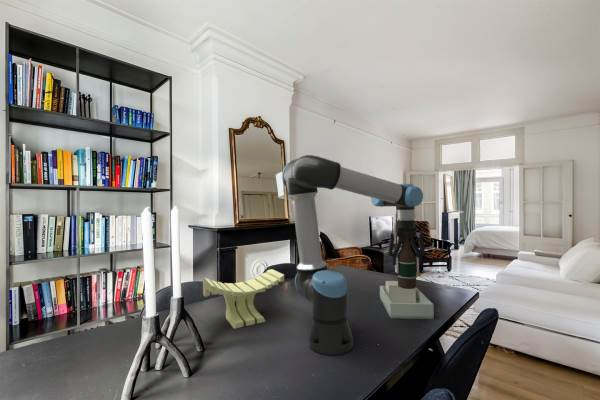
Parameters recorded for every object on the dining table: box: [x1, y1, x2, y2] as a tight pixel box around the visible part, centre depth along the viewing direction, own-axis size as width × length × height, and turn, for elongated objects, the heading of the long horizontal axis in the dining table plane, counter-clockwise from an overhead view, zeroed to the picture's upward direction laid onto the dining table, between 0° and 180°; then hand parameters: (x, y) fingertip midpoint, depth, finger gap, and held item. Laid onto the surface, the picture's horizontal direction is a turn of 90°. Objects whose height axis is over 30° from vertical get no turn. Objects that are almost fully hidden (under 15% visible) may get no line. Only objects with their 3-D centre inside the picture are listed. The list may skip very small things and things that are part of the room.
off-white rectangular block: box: [385, 280, 417, 303], centre depth 139 cm, size 12×8×8 cm, turn 84°
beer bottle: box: [397, 231, 417, 289], centre depth 127 cm, size 8×8×24 cm
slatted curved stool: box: [202, 268, 285, 330], centre depth 123 cm, size 30×16×18 cm, turn 119°
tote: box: [379, 285, 435, 320], centre depth 132 cm, size 17×26×6 cm, turn 174°
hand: (406, 272), depth 127 cm, fingers closed on beer bottle, 8 cm apart
